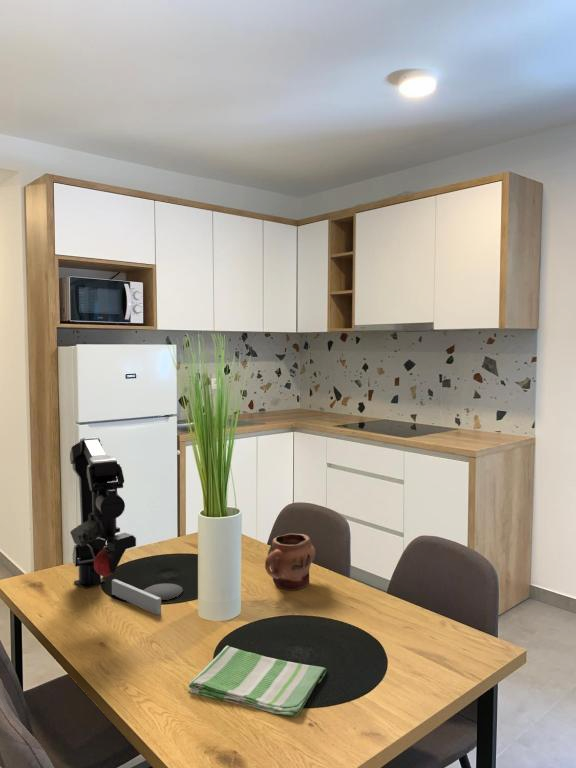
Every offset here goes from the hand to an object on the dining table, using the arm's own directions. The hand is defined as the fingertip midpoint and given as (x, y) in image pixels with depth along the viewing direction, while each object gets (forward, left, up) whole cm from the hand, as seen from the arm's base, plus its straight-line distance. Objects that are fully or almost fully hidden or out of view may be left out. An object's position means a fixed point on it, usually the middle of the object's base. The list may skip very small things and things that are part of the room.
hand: (105, 569), depth 154 cm
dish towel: (+51, +2, -13) cm, 53 cm away
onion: (0, 0, -2) cm, 2 cm away
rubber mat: (0, +18, -12) cm, 21 cm away
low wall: (0, +9, -12) cm, 15 cm away
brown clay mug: (+24, +44, -12) cm, 51 cm away
